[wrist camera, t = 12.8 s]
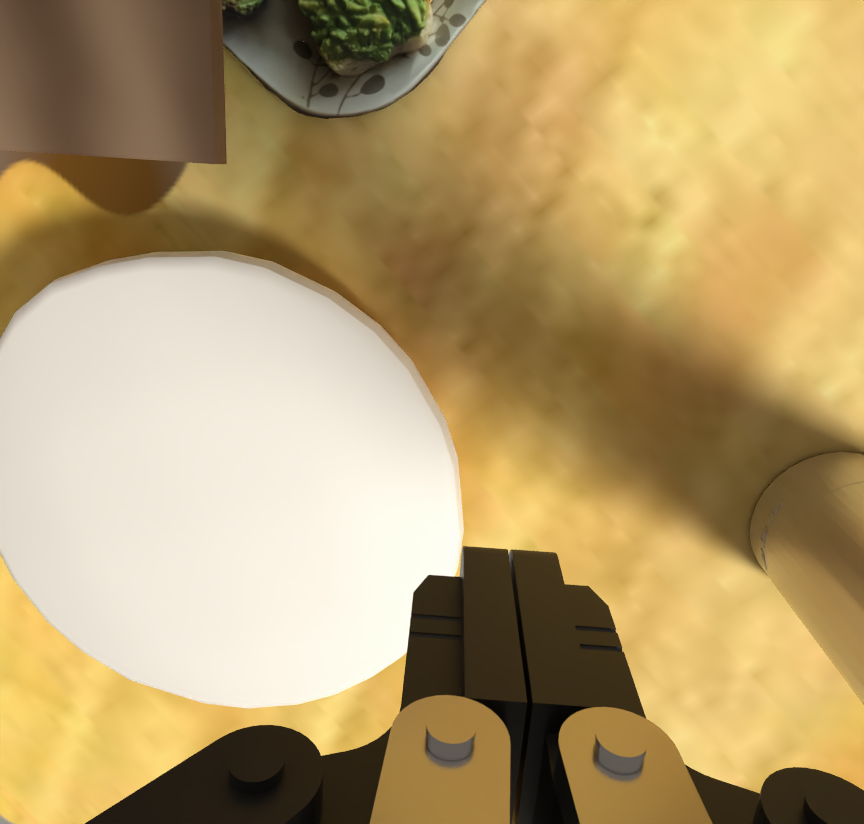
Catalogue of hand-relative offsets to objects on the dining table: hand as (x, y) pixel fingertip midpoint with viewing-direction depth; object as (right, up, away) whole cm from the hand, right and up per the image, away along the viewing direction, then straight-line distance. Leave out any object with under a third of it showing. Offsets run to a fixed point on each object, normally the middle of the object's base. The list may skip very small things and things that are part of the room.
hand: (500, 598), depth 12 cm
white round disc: (-13, -1, +32) cm, 34 cm away
